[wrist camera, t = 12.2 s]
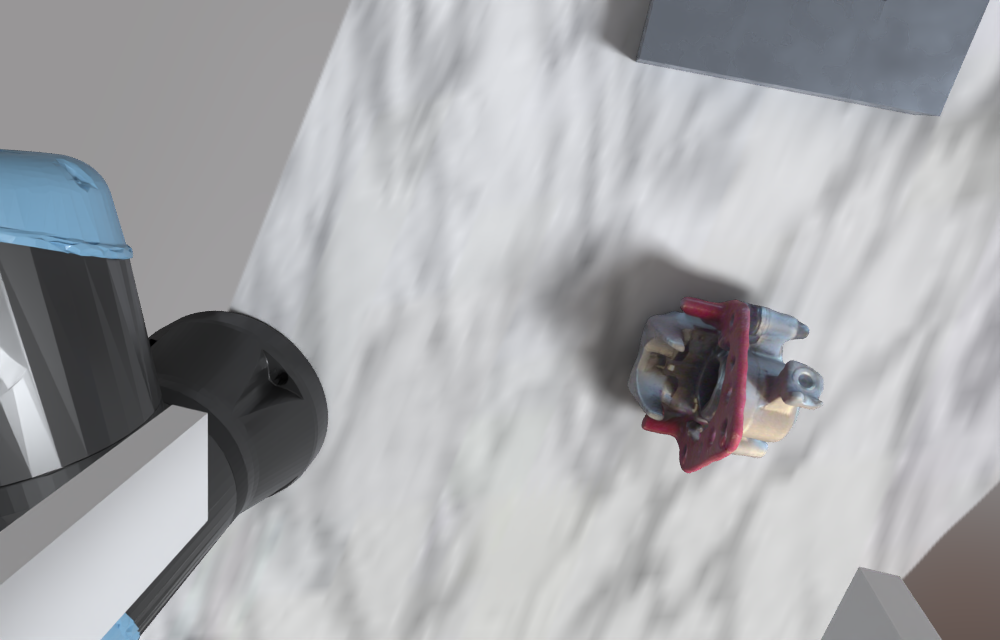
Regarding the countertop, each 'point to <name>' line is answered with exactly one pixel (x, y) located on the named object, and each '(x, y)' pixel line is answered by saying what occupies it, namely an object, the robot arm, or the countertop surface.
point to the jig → (820, 46)
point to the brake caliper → (721, 379)
